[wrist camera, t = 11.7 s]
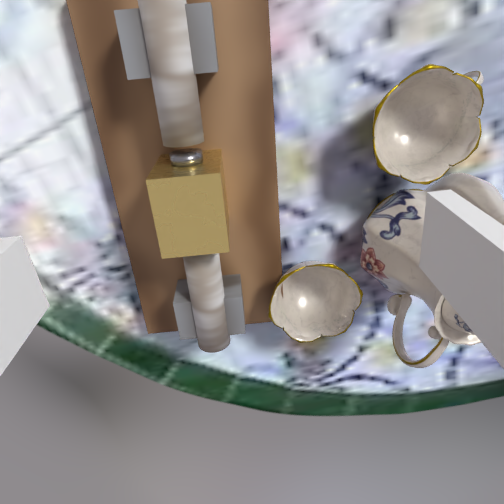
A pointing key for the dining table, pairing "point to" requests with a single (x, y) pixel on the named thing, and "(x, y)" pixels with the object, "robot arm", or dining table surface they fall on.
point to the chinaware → (400, 215)
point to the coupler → (189, 203)
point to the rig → (189, 136)
